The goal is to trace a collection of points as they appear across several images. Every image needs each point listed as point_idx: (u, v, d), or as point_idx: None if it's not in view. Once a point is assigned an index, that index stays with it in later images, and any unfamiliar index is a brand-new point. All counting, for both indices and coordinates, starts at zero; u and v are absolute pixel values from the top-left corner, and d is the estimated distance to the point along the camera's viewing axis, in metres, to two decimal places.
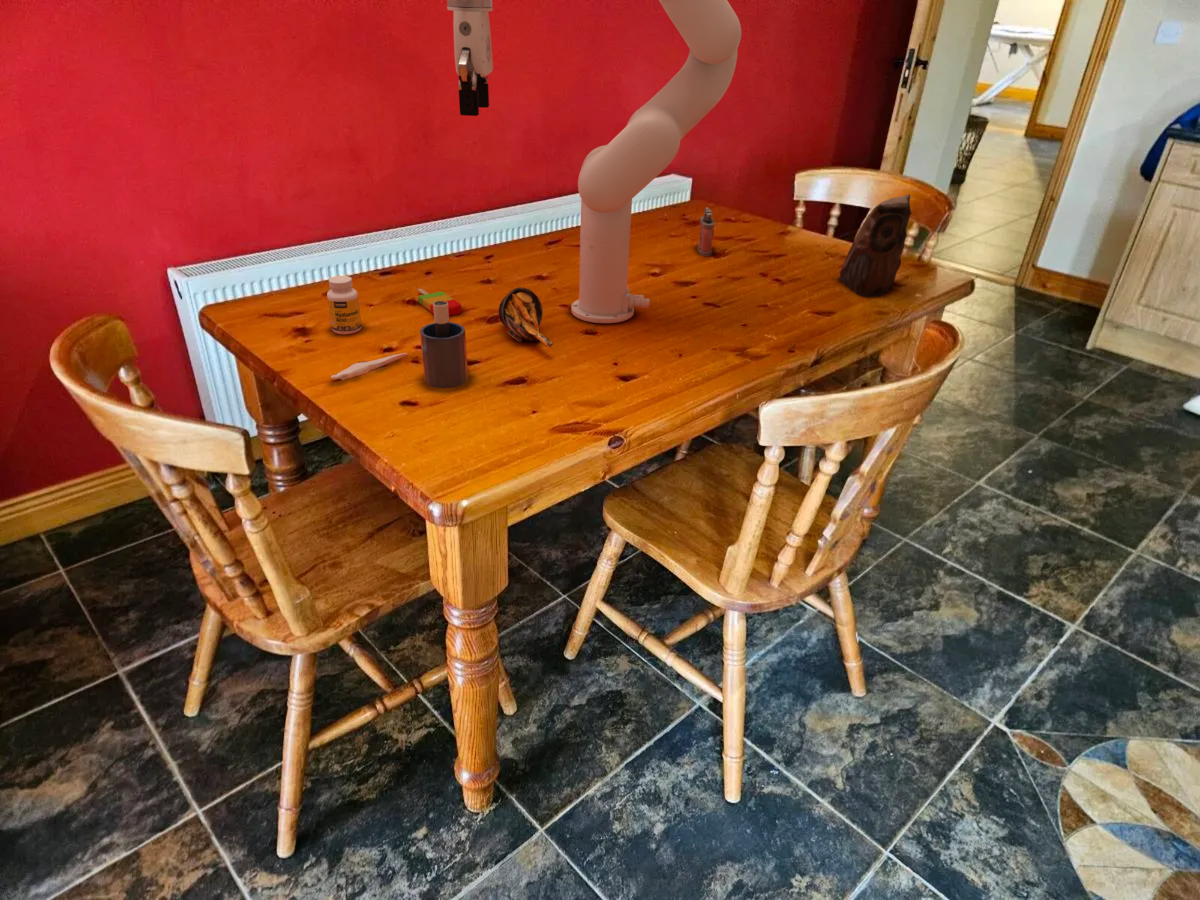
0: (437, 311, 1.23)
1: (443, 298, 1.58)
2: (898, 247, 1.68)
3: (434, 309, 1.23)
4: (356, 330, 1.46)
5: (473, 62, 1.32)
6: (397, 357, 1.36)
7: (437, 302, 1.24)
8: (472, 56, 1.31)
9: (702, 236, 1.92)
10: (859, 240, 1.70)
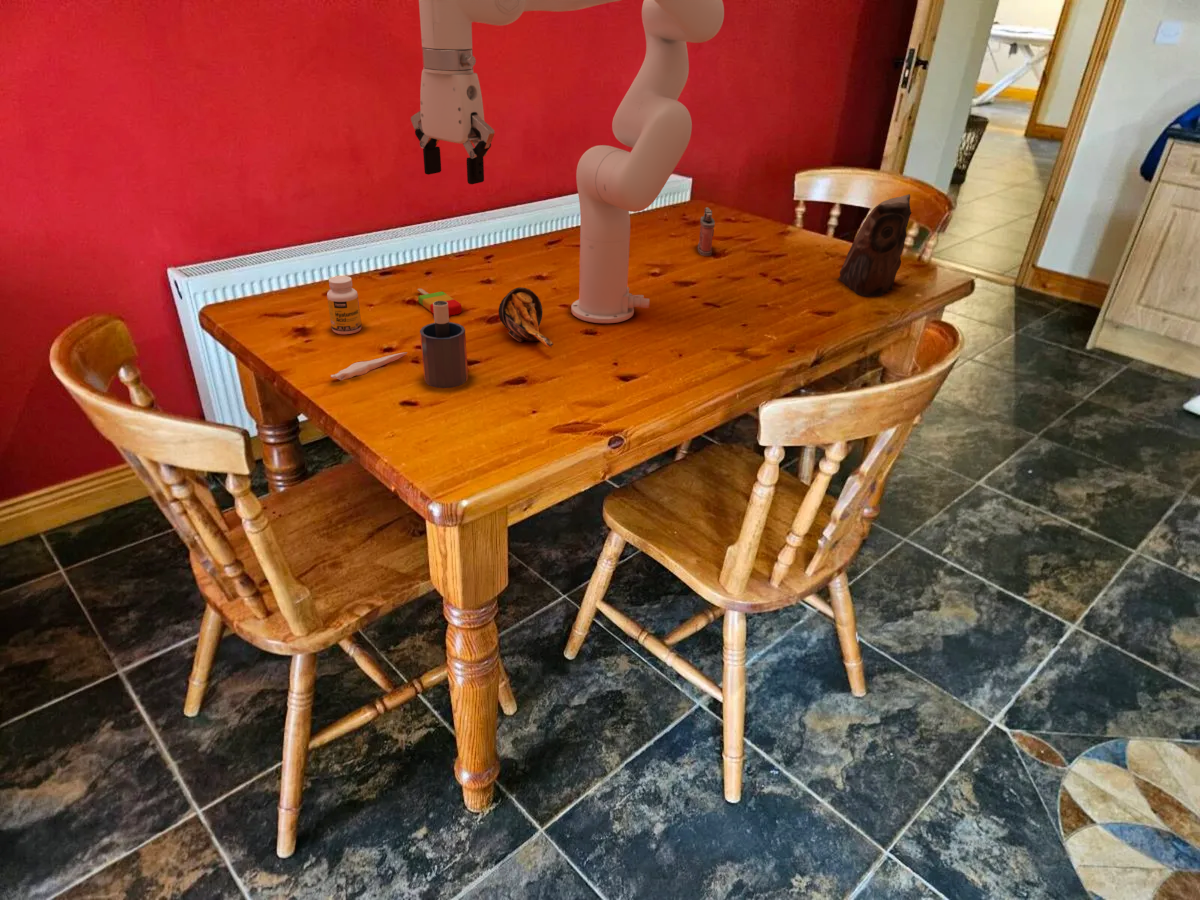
0: (437, 311, 1.23)
1: (443, 298, 1.58)
2: (898, 247, 1.68)
3: (434, 309, 1.23)
4: (356, 330, 1.46)
5: None
6: (397, 356, 1.36)
7: (437, 302, 1.24)
8: None
9: (702, 236, 1.92)
10: (859, 240, 1.70)
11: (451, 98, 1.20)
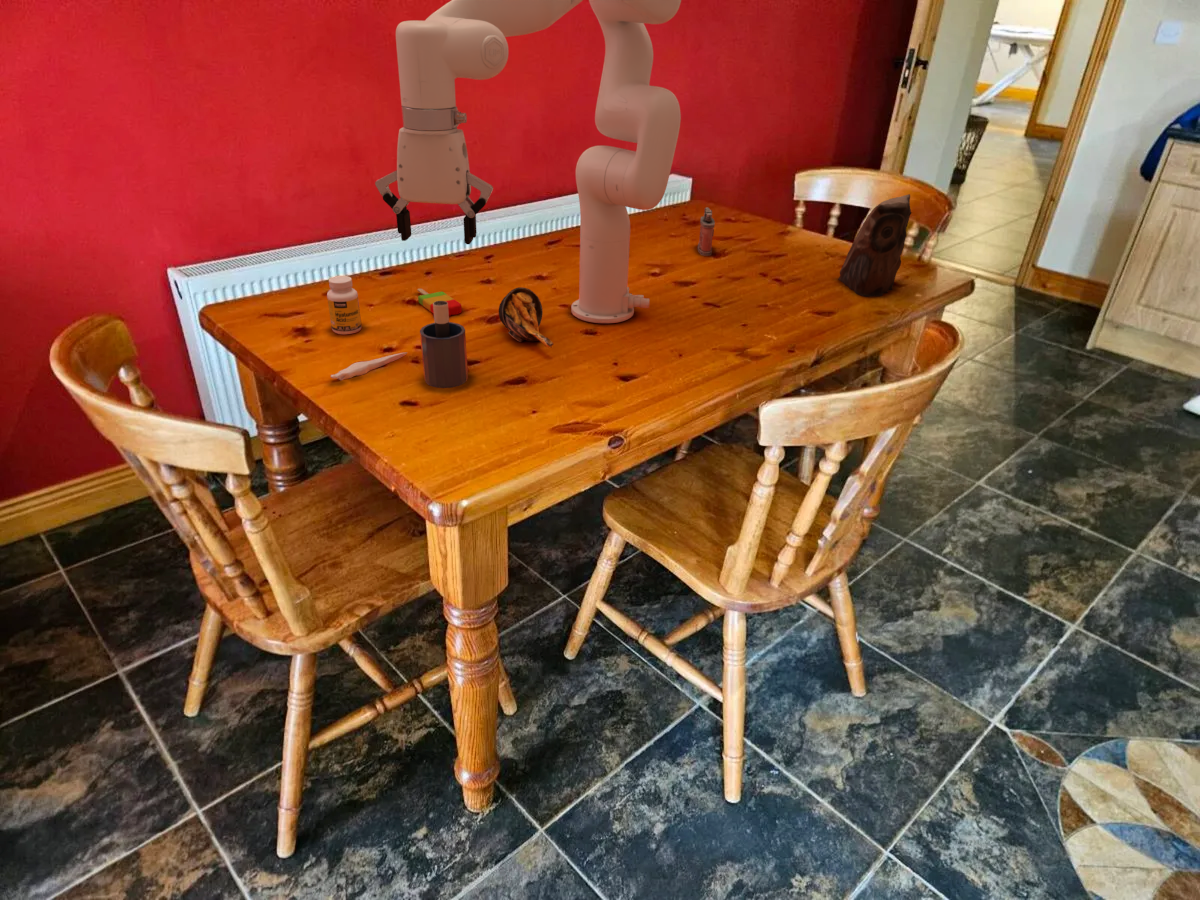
0: (437, 311, 1.23)
1: (443, 298, 1.58)
2: (898, 247, 1.68)
3: (434, 309, 1.23)
4: (356, 330, 1.46)
5: None
6: (397, 356, 1.36)
7: (437, 302, 1.24)
8: None
9: (702, 236, 1.92)
10: (859, 240, 1.70)
11: (447, 158, 1.12)
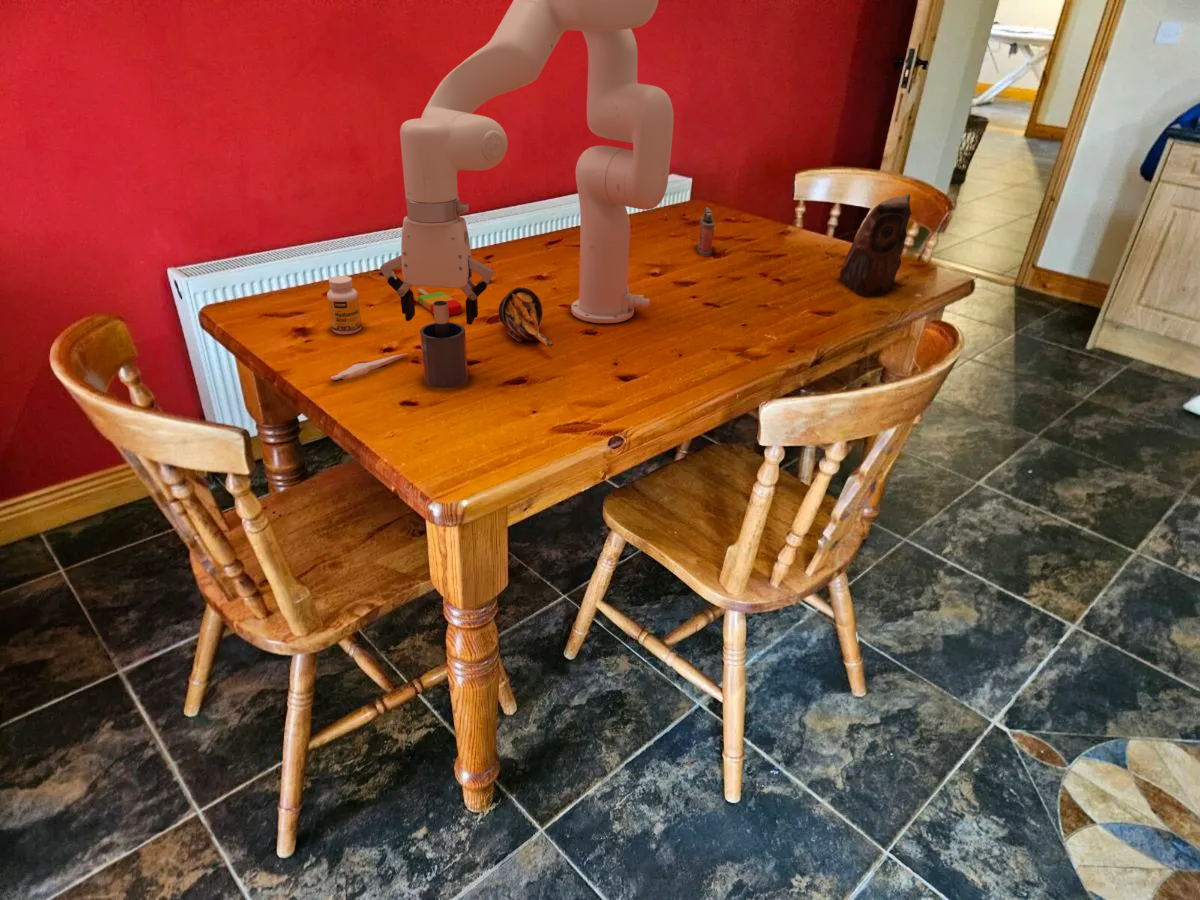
0: (437, 311, 1.23)
1: (443, 298, 1.58)
2: (898, 247, 1.68)
3: (434, 309, 1.23)
4: (356, 330, 1.46)
5: None
6: (397, 358, 1.36)
7: (437, 302, 1.24)
8: None
9: (702, 236, 1.92)
10: (859, 240, 1.70)
11: (449, 247, 1.16)
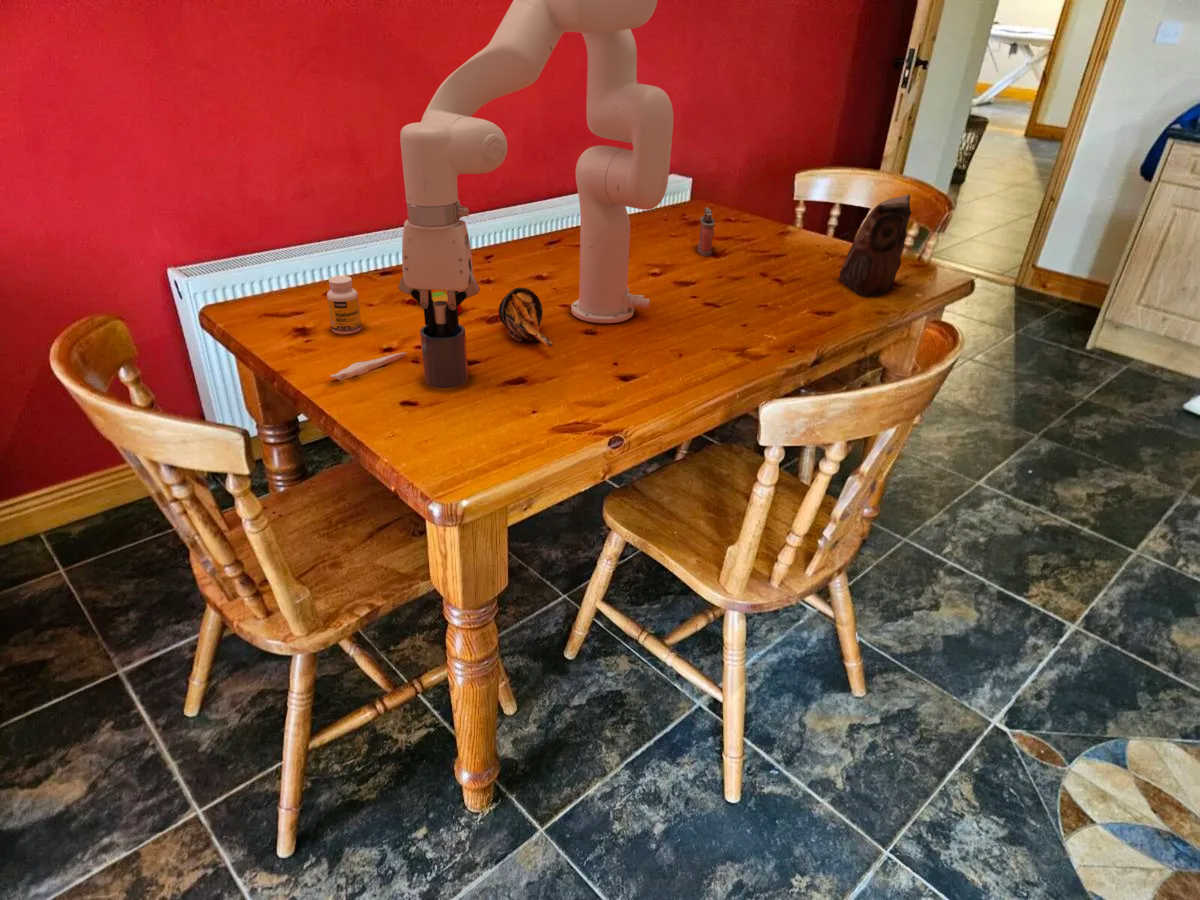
0: (437, 311, 1.23)
1: (443, 298, 1.58)
2: (898, 247, 1.68)
3: (434, 309, 1.23)
4: (356, 330, 1.46)
5: (472, 270, 1.22)
6: (397, 356, 1.36)
7: (437, 302, 1.24)
8: (471, 265, 1.21)
9: (702, 236, 1.92)
10: (859, 240, 1.70)
11: (450, 250, 1.17)
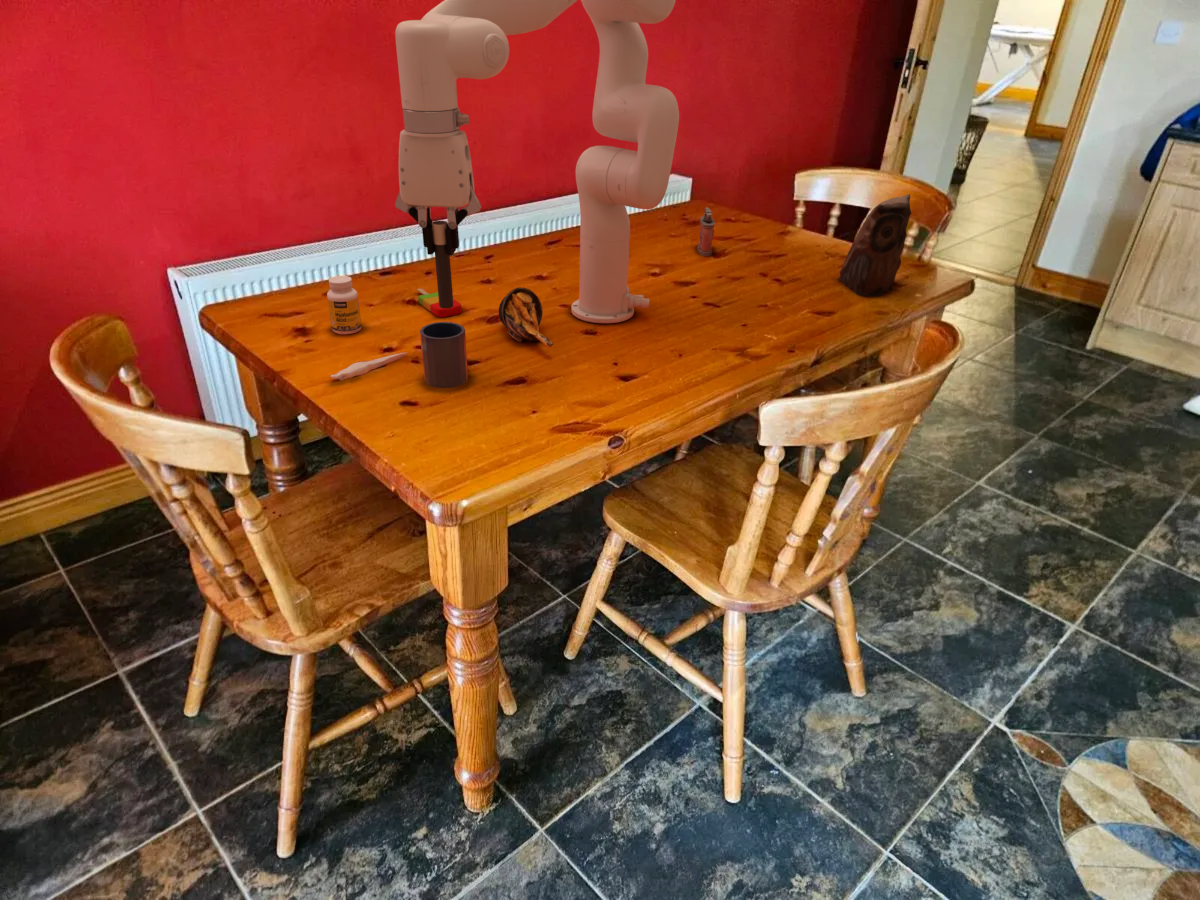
0: (436, 231, 1.16)
1: None
2: (898, 247, 1.68)
3: (433, 229, 1.17)
4: (356, 330, 1.46)
5: (473, 186, 1.15)
6: (397, 357, 1.36)
7: (436, 221, 1.17)
8: (472, 180, 1.14)
9: (702, 236, 1.92)
10: (859, 240, 1.70)
11: (449, 161, 1.10)
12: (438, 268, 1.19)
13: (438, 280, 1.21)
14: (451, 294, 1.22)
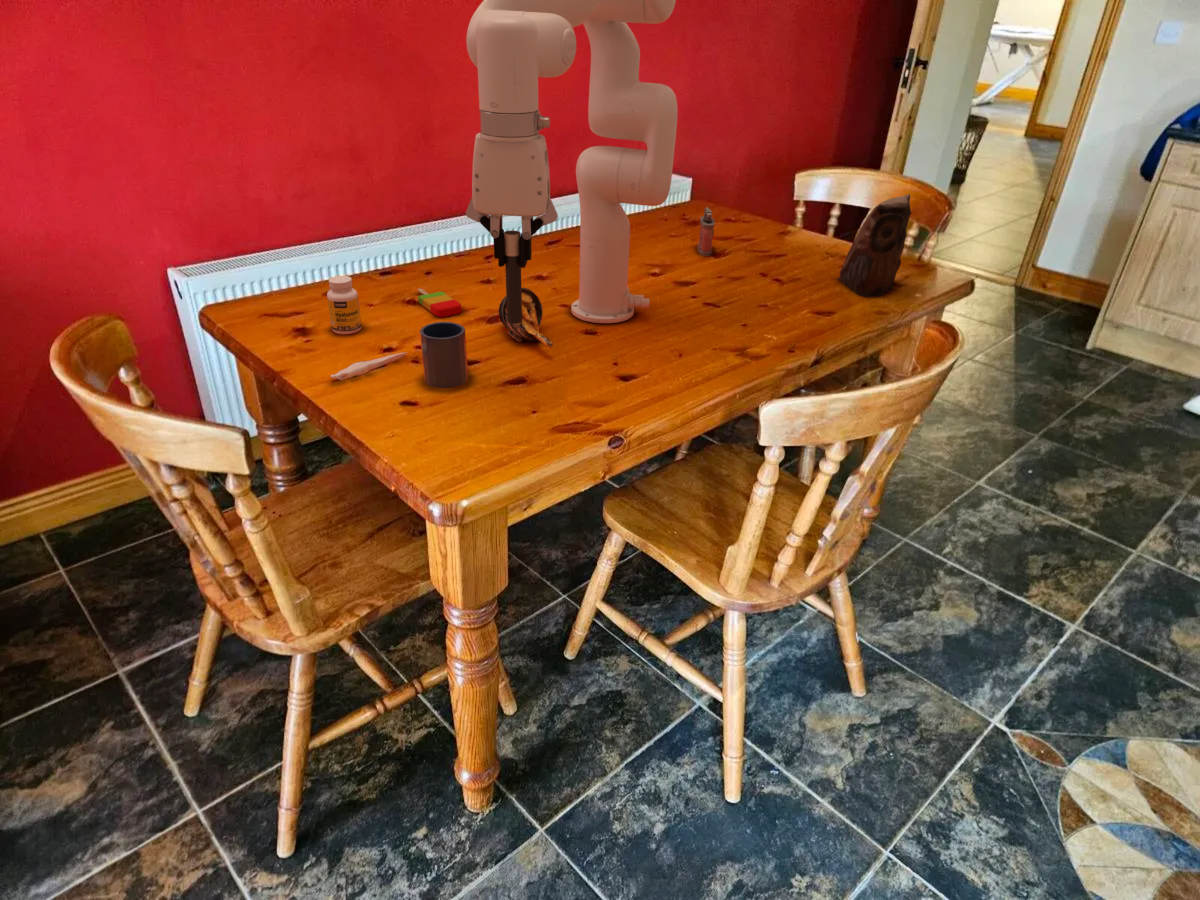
0: (508, 241, 1.09)
1: (443, 298, 1.58)
2: (898, 247, 1.68)
3: (505, 239, 1.09)
4: (356, 330, 1.46)
5: (549, 194, 1.07)
6: (397, 356, 1.36)
7: (508, 231, 1.09)
8: (549, 187, 1.07)
9: (702, 236, 1.92)
10: (859, 240, 1.70)
11: (528, 167, 1.02)
12: (509, 281, 1.12)
13: (508, 294, 1.13)
14: (521, 309, 1.14)
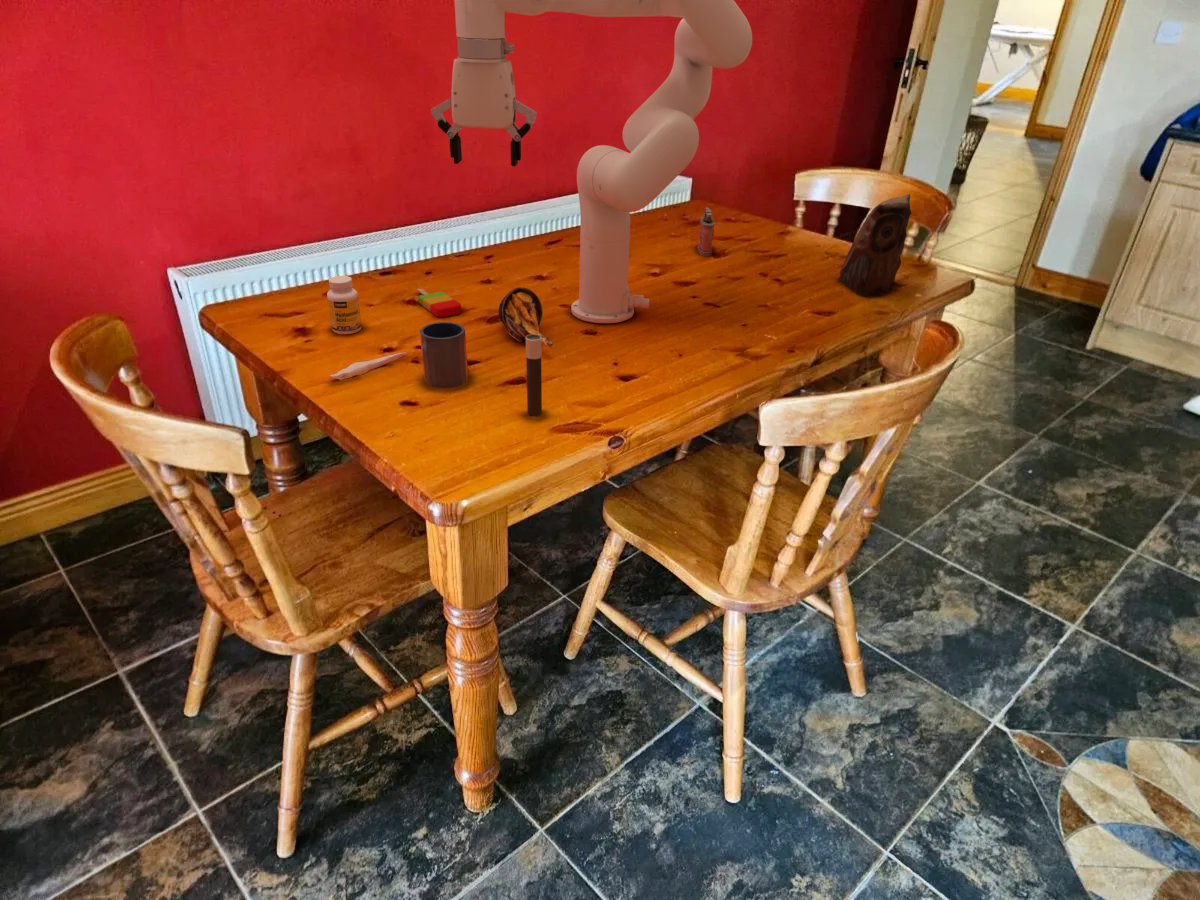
0: (530, 345, 1.14)
1: (443, 298, 1.58)
2: (898, 247, 1.68)
3: (527, 343, 1.14)
4: (356, 330, 1.46)
5: (515, 111, 1.30)
6: (397, 356, 1.36)
7: (530, 336, 1.15)
8: None
9: (702, 236, 1.92)
10: (859, 240, 1.70)
11: (497, 85, 1.25)
12: (529, 381, 1.17)
13: (529, 392, 1.18)
14: (540, 405, 1.20)
